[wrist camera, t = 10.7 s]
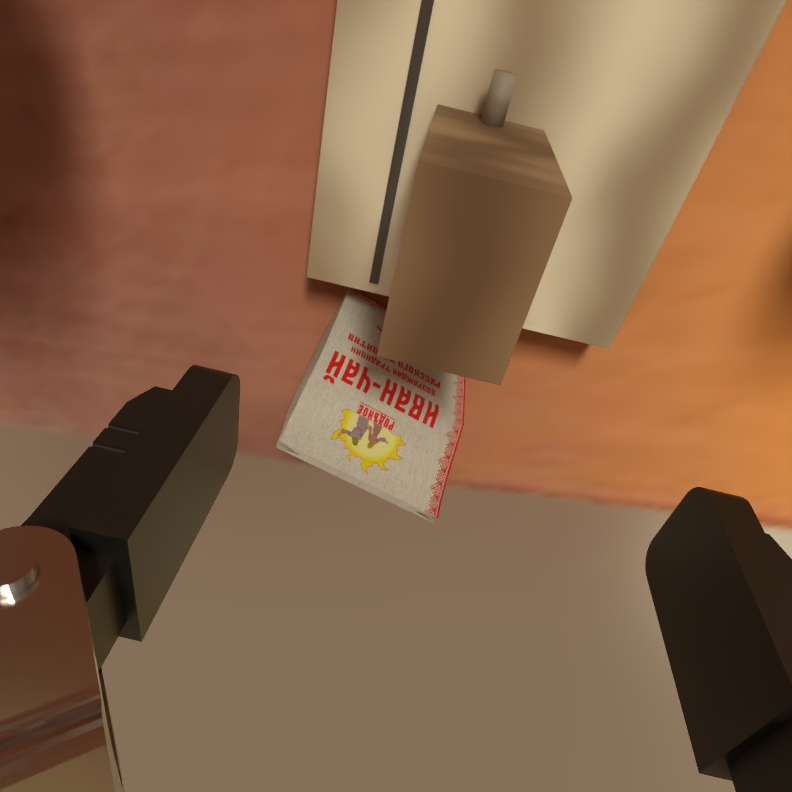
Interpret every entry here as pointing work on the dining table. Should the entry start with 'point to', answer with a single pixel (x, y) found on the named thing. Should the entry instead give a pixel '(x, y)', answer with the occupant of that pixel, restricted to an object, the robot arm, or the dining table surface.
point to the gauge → (474, 240)
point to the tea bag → (375, 414)
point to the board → (539, 108)
